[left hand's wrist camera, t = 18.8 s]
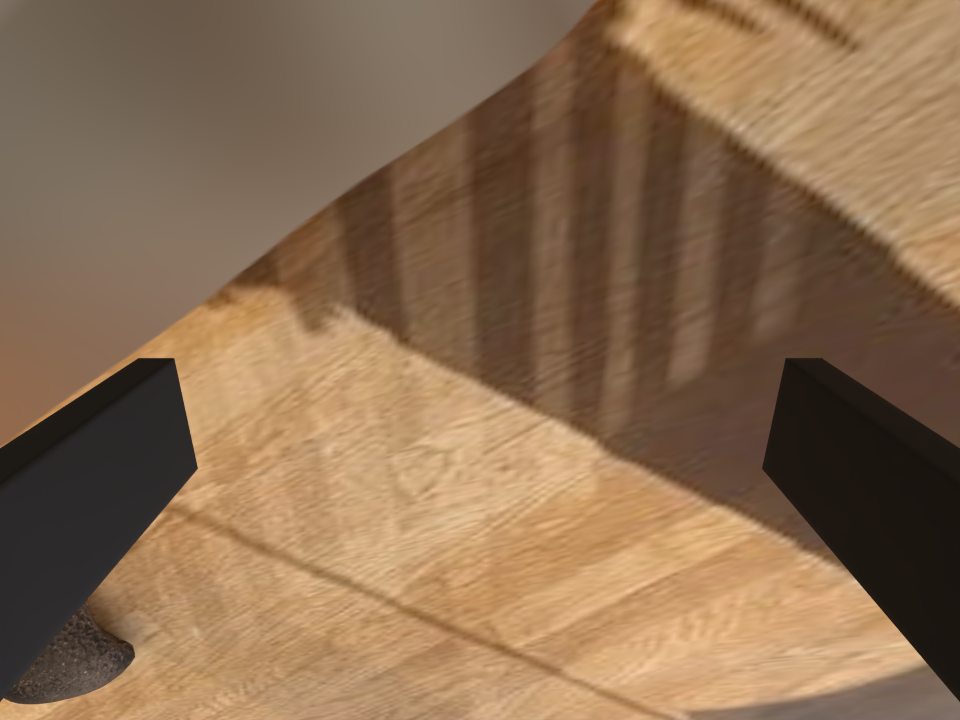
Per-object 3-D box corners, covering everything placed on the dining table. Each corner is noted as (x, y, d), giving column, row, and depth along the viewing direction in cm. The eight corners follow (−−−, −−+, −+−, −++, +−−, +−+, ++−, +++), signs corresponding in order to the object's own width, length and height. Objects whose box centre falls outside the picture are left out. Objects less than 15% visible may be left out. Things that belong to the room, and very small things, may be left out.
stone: (164, 584, 54) (60, 584, 45) (155, 685, 51) (41, 707, 42) (87, 598, 57) (-25, 602, 48) (73, 695, 53) (-50, 718, 45)
